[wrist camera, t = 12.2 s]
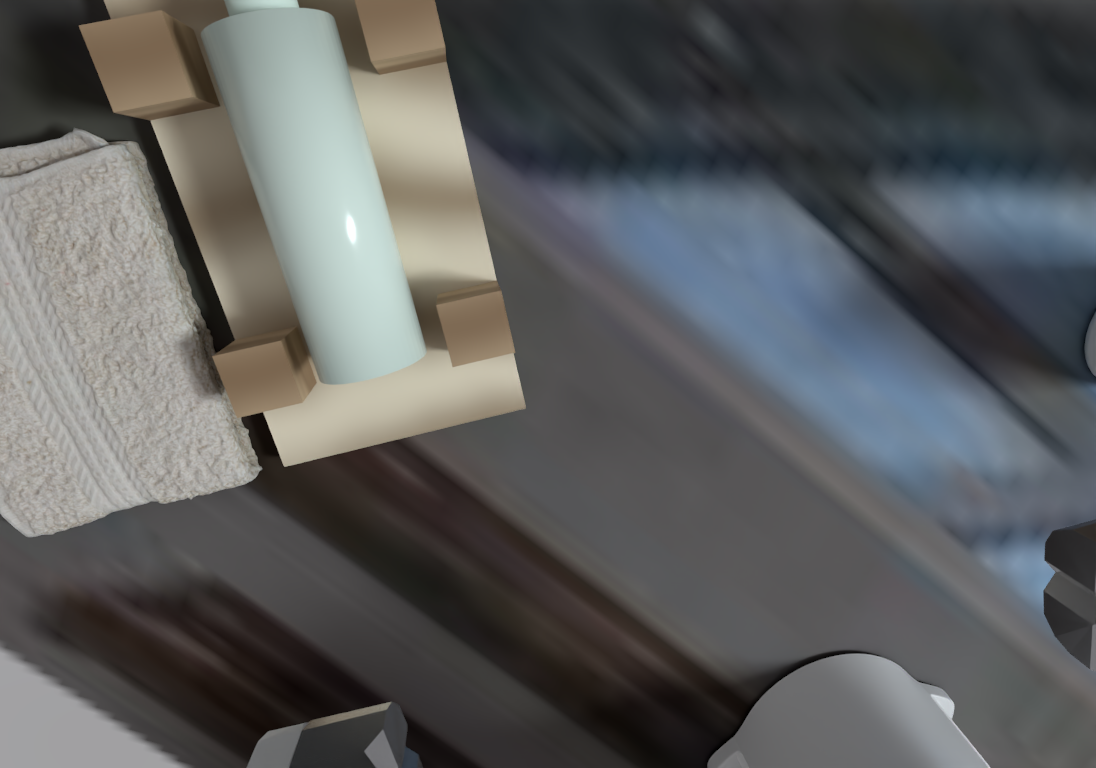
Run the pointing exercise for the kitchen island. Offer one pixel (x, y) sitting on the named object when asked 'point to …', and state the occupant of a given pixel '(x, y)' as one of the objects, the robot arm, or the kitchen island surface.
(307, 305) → the ceramic bottle
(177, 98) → the board
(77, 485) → the washcloth
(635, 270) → the kitchen island surface
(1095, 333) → the milk bottle
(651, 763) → the kitchen island surface
